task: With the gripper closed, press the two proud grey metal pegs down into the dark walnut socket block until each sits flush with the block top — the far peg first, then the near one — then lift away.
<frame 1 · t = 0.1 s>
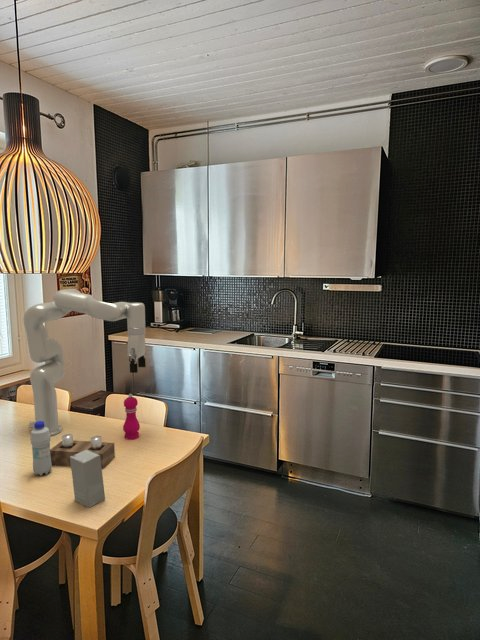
hand: (138, 369, 184), 31 cm above the table, tool pointing down, fingers open, 9 cm apart
peg near: (67, 443, 165), point 7 cm above the table, slide at 0.0 cm
socket block: (82, 461, 166), on the table
bottle: (42, 473, 156), on the table
peg far: (96, 445, 164), point 7 cm above the table, slide at 0.0 cm
pepper mill: (131, 437, 189), on the table
skincare box: (88, 501, 138), on the table
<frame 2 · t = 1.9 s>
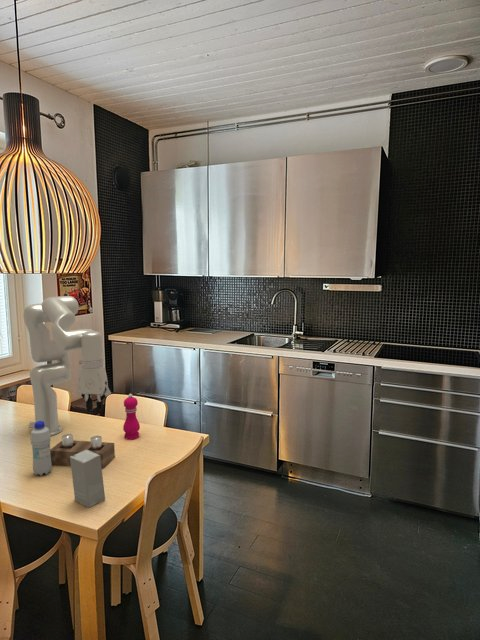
hand: (94, 409, 162), 21 cm above the table, tool pointing down, fingers open, 3 cm apart
nothing on the table moved.
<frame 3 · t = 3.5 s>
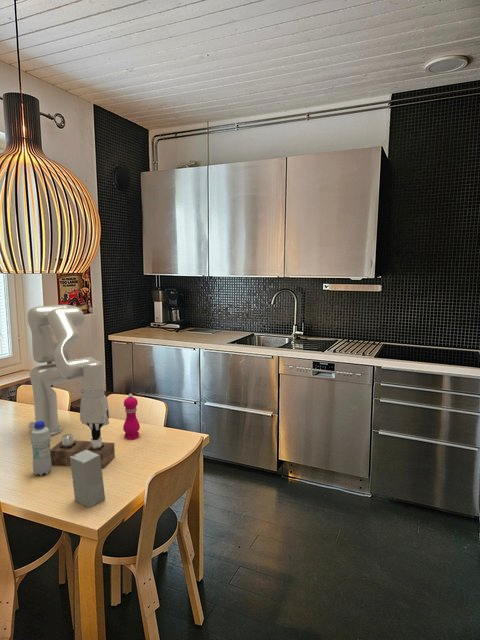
hand: (96, 438, 163), 10 cm above the table, tool pointing down, fingers closed
peg far: (96, 445, 164), point 7 cm above the table, slide at 0.4 cm, touching gripper
everything else where it was.
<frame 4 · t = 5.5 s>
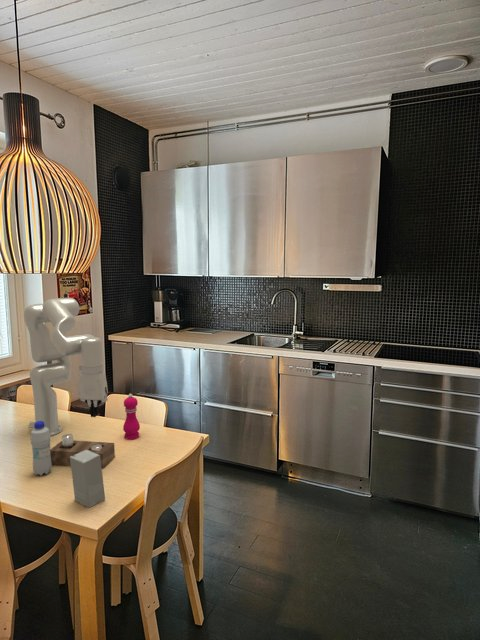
hand: (94, 415, 162), 19 cm above the table, tool pointing down, fingers closed
peg far: (96, 453, 164), point 3 cm above the table, slide at 3.6 cm
everything else where it was.
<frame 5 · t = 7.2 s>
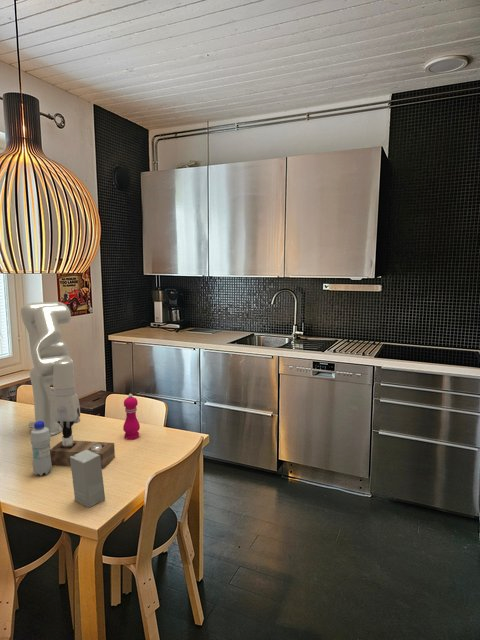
hand: (67, 436, 165), 10 cm above the table, tool pointing down, fingers closed
peg near: (67, 443, 165), point 7 cm above the table, slide at 0.2 cm, touching gripper
everything else where it was.
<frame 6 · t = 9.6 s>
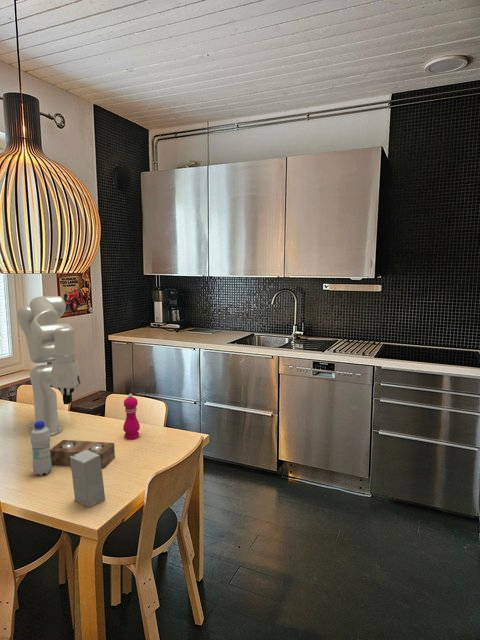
hand: (67, 403, 166), 22 cm above the table, tool pointing down, fingers closed
peg near: (68, 451, 166), point 3 cm above the table, slide at 3.6 cm
everything else where it was.
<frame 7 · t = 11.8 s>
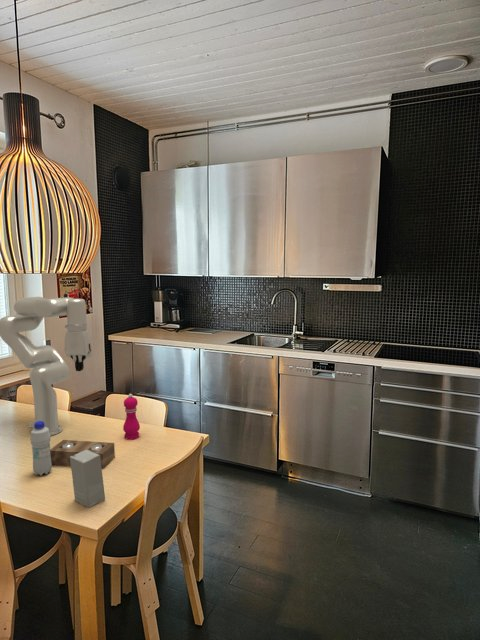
hand: (79, 370, 179), 32 cm above the table, tool pointing down, fingers closed
nothing on the table moved.
at the end: peg far slide at 3.6 cm; peg near slide at 3.6 cm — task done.
